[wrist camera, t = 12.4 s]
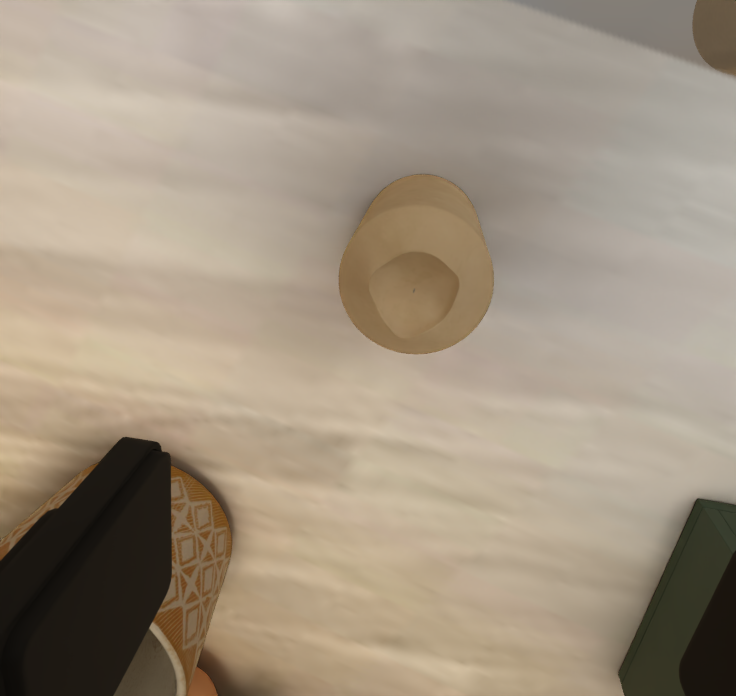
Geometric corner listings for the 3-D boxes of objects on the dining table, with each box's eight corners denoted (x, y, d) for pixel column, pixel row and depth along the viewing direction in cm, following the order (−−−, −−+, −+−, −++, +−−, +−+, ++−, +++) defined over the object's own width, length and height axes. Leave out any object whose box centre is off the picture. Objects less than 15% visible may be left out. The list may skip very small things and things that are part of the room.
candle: (450, 301, 30) (457, 393, 21) (349, 262, 30) (311, 338, 21) (497, 198, 28) (527, 251, 19) (388, 155, 27) (364, 187, 18)
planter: (58, 570, 40) (-59, 718, 31) (57, 416, 35) (-84, 536, 26) (236, 615, 40) (174, 777, 31) (262, 466, 35) (196, 606, 26)
